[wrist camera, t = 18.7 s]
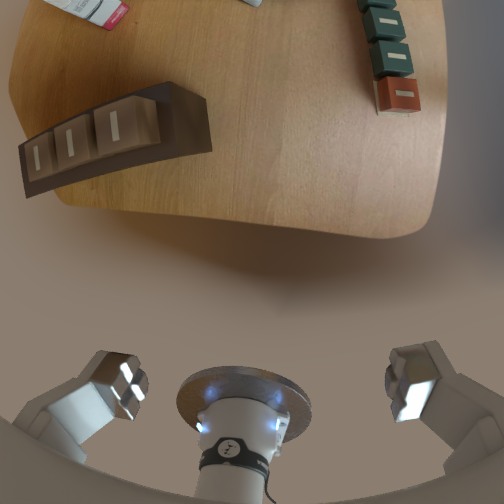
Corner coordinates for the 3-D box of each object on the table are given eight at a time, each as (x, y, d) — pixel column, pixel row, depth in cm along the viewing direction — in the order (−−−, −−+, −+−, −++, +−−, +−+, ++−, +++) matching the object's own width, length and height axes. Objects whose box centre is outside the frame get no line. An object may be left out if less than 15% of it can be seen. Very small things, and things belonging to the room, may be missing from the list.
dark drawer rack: (212, 151, 34) (159, 159, 19) (80, 181, 37) (3, 207, 22) (205, 99, 31) (149, 71, 16) (74, 138, 34) (-6, 150, 19)
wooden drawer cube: (403, 84, 27) (416, 79, 23) (407, 113, 28) (421, 111, 25) (376, 82, 28) (387, 75, 24) (380, 111, 29) (391, 108, 25)
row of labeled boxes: (408, 116, 29) (422, 114, 25) (377, 115, 29) (388, 112, 26) (382, -6, 22) (391, -18, 18) (351, -9, 22) (358, -23, 19)
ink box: (131, 7, 26) (88, -21, 15) (110, 32, 27) (62, 10, 16) (102, -6, 24) (60, -29, 13) (83, 17, 26) (38, -1, 15)
